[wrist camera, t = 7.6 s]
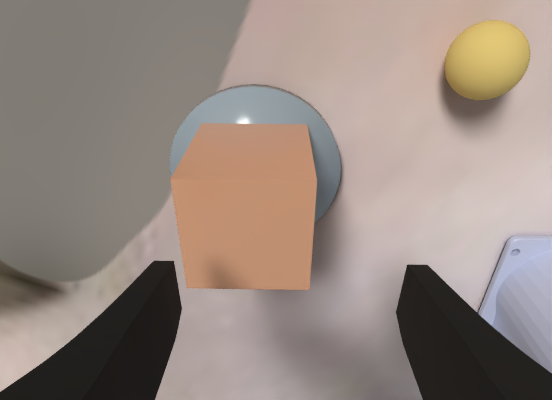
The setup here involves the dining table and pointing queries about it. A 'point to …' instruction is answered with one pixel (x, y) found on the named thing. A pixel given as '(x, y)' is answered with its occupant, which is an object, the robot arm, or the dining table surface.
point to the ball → (487, 60)
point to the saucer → (268, 110)
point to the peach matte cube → (246, 206)
